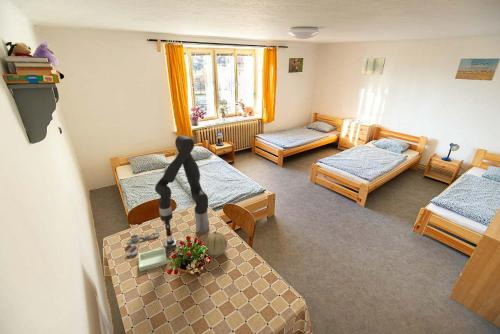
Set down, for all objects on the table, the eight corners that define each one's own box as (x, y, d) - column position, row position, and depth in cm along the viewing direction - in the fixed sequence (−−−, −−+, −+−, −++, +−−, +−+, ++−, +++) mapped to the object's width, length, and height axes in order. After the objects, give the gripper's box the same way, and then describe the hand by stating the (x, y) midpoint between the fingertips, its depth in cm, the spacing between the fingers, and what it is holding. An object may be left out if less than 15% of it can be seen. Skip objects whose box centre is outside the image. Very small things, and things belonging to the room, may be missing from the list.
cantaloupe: (212, 263, 154) (210, 245, 148) (201, 249, 165) (200, 232, 158) (231, 253, 162) (231, 236, 156) (220, 241, 173) (220, 224, 166)
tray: (165, 250, 163) (164, 247, 162) (167, 264, 153) (166, 260, 152) (139, 257, 158) (138, 253, 156) (139, 271, 148) (138, 267, 146)
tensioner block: (175, 240, 172) (175, 237, 171) (176, 247, 166) (176, 244, 165) (165, 243, 170) (164, 240, 168) (166, 250, 164) (165, 246, 163)
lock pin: (173, 242, 170) (171, 230, 166) (174, 246, 167) (172, 234, 162) (167, 244, 169) (165, 231, 164) (168, 248, 166) (166, 235, 161)
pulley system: (115, 253, 162) (131, 259, 156) (114, 247, 160) (130, 254, 154) (147, 229, 185) (162, 235, 179) (146, 224, 183) (161, 229, 177)
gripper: (173, 217, 151) (175, 237, 158) (170, 205, 163) (173, 224, 170) (160, 219, 149) (163, 240, 155) (158, 207, 160) (161, 226, 167)
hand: (168, 231), depth 163 cm, fingers open, 8 cm apart
